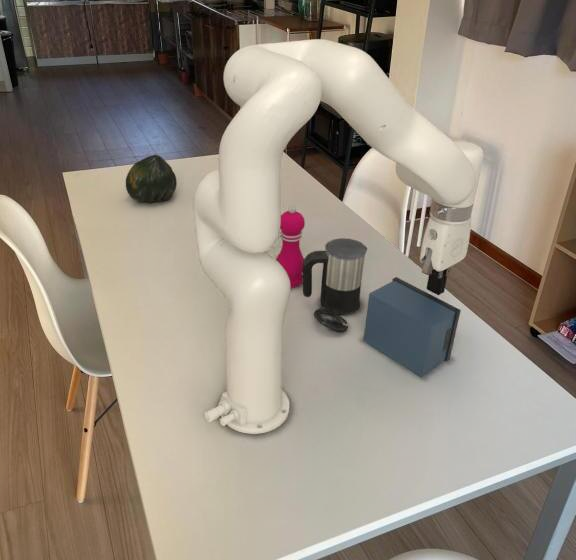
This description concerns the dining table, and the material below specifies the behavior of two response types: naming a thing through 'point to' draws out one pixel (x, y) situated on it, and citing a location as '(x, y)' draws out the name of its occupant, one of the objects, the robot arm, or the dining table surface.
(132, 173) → the squash
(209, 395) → the dining table surface
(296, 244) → the pepper mill
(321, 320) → the milk frother
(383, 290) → the blue storage bin
